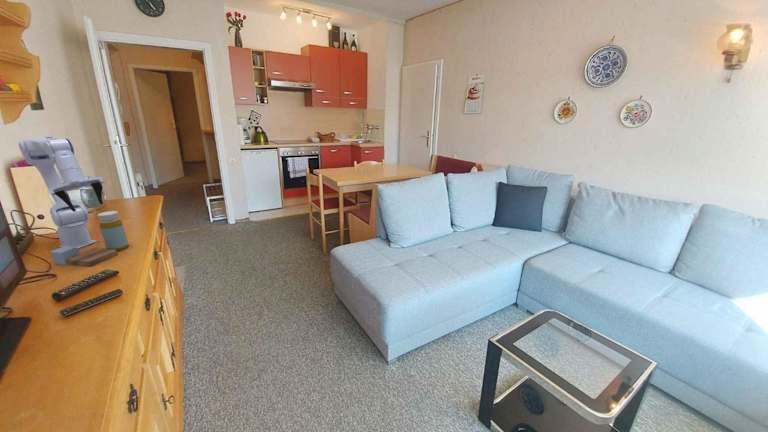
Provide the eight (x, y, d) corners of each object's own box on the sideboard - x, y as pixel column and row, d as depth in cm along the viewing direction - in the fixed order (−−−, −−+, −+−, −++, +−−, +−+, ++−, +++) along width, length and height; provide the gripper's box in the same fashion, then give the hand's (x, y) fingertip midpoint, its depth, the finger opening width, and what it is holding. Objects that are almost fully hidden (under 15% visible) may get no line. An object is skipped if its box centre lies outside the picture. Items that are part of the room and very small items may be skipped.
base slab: (68, 264, 114) (66, 259, 113) (97, 252, 123) (95, 248, 123) (90, 266, 112) (88, 261, 112) (118, 254, 122) (116, 249, 121)
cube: (55, 263, 115) (50, 251, 113) (70, 257, 119) (66, 245, 118) (65, 265, 114) (61, 252, 112) (81, 259, 118) (76, 246, 117)
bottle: (116, 252, 123) (105, 216, 118) (102, 251, 125) (90, 215, 120) (133, 245, 130) (123, 211, 125) (119, 244, 131) (109, 210, 126)
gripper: (38, 174, 103) (57, 212, 104) (94, 162, 111) (111, 197, 112) (46, 180, 109) (63, 215, 110) (98, 168, 117) (114, 202, 118)
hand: (88, 207), depth 111 cm, fingers open, 7 cm apart
